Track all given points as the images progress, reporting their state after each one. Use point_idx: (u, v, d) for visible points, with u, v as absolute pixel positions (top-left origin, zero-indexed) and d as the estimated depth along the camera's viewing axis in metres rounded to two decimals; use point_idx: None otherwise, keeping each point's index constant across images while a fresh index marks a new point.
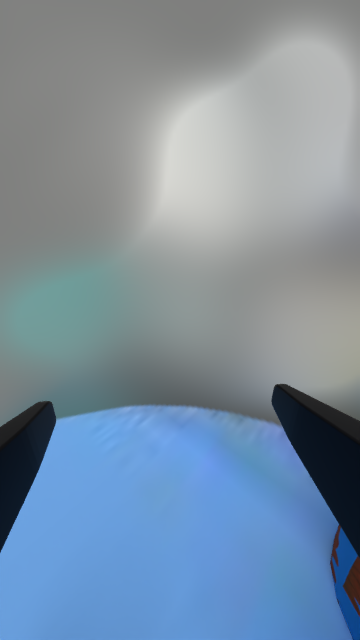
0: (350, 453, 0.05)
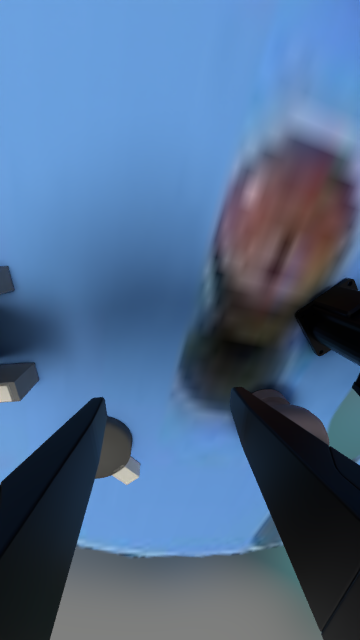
0: (285, 461, 0.05)
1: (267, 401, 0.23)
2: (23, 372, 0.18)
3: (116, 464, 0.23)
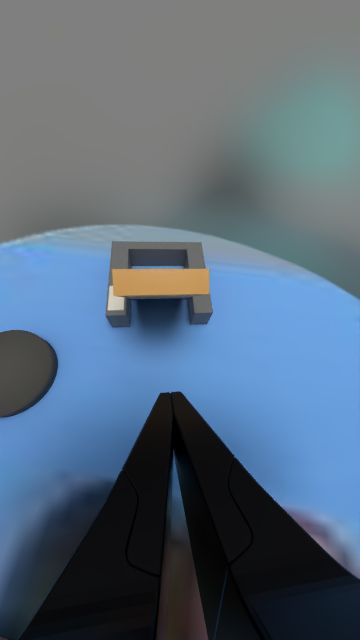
0: (189, 473, 0.05)
1: None
2: (127, 320, 0.22)
3: None
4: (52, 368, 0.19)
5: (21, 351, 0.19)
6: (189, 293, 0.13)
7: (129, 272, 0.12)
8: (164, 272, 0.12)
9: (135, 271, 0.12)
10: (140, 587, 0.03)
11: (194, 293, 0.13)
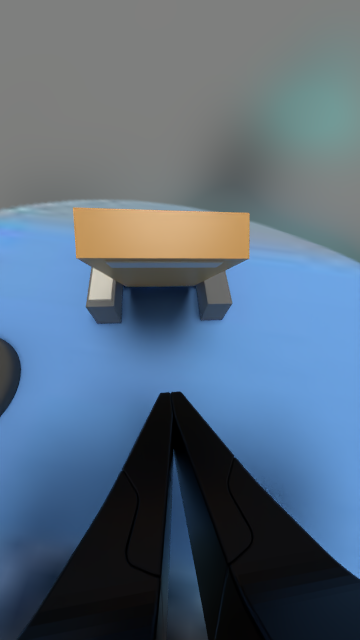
0: (189, 473, 0.05)
1: None
2: (117, 313, 0.16)
3: None
4: (10, 380, 0.14)
5: None
6: (214, 256, 0.07)
7: (106, 215, 0.07)
8: (170, 217, 0.07)
9: (117, 213, 0.07)
10: (141, 586, 0.03)
11: (222, 257, 0.07)
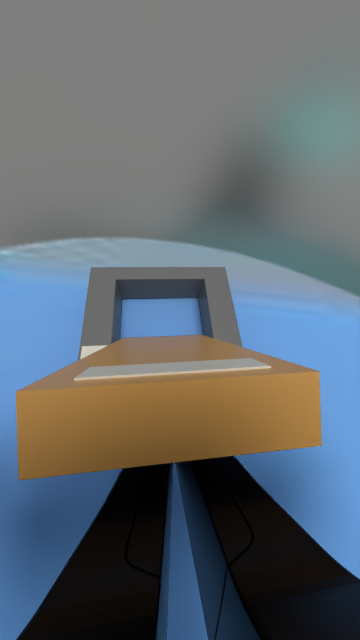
0: (189, 473, 0.05)
1: None
2: None
3: None
4: None
5: None
6: (263, 448, 0.04)
7: (75, 398, 0.04)
8: (188, 391, 0.04)
9: (95, 394, 0.04)
10: (141, 586, 0.03)
11: None
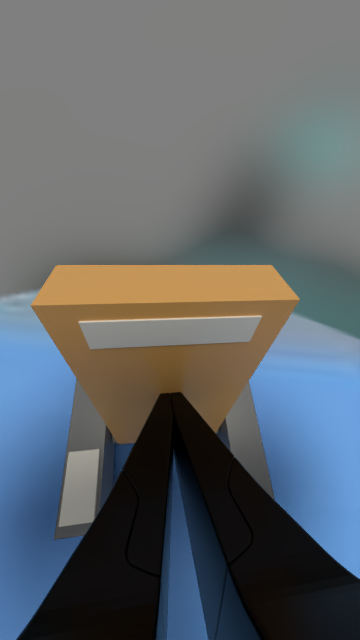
0: (189, 473, 0.05)
1: None
2: None
3: None
4: None
5: None
6: (247, 300, 0.05)
7: (95, 269, 0.05)
8: (176, 269, 0.05)
9: (109, 267, 0.05)
10: (140, 588, 0.03)
11: (259, 302, 0.05)
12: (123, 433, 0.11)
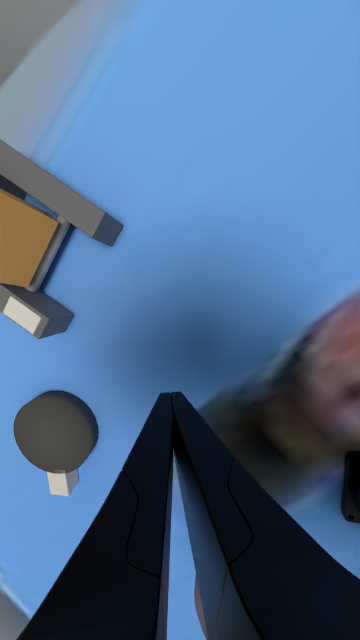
0: (189, 473, 0.05)
1: None
2: (61, 316, 0.17)
3: (60, 464, 0.19)
4: (73, 404, 0.19)
5: (41, 418, 0.19)
6: None
7: None
8: None
9: None
10: (141, 587, 0.03)
11: None
12: None
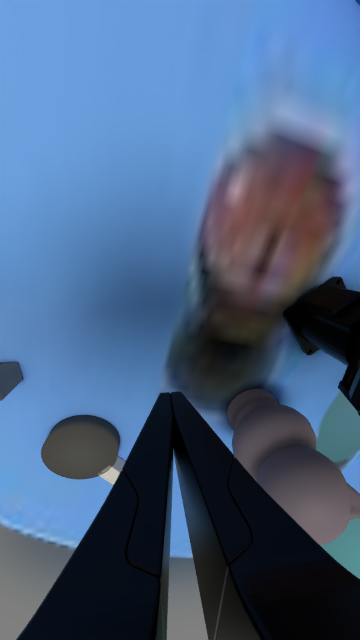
0: (189, 473, 0.05)
1: (256, 401, 0.23)
2: (5, 371, 0.18)
3: (103, 464, 0.23)
4: (76, 422, 0.21)
5: (62, 448, 0.21)
6: None
7: None
8: None
9: None
10: (141, 586, 0.03)
11: None
12: None
